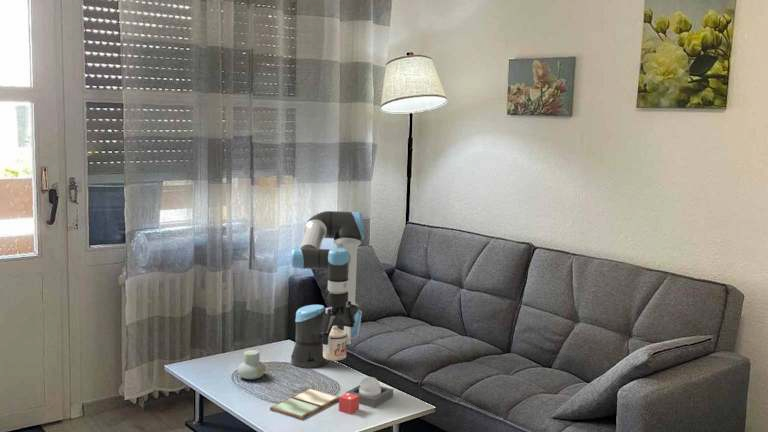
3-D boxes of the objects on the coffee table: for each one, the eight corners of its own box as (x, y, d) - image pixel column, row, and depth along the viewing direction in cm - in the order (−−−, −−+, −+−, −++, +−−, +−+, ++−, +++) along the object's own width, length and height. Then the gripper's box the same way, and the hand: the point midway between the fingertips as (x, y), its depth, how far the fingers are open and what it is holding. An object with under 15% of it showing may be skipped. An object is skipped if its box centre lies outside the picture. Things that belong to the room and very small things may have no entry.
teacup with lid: (336, 362, 267) (337, 331, 265) (317, 357, 272) (317, 326, 270) (356, 353, 277) (356, 323, 275) (337, 349, 282) (337, 319, 280)
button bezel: (365, 389, 276) (365, 382, 276) (392, 397, 269) (393, 389, 269) (346, 400, 266) (346, 392, 265) (374, 408, 259) (374, 399, 259)
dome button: (366, 390, 273) (367, 372, 272) (385, 395, 269) (385, 376, 268) (354, 397, 266) (354, 378, 265) (372, 402, 262) (373, 383, 261)
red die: (347, 406, 260) (347, 392, 259) (358, 409, 258) (359, 395, 257) (338, 410, 256) (339, 396, 255) (350, 414, 253) (350, 399, 253)
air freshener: (253, 383, 280) (253, 357, 278) (234, 380, 283) (234, 354, 281) (268, 374, 290) (268, 349, 289) (249, 371, 293) (249, 346, 291)
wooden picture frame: (309, 390, 274) (309, 388, 273) (340, 399, 266) (340, 396, 266) (269, 410, 255) (269, 406, 255) (301, 419, 248) (301, 416, 248)
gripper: (326, 299, 258) (325, 359, 262) (365, 286, 279) (363, 341, 282) (309, 296, 262) (308, 354, 266) (348, 283, 283) (347, 337, 286)
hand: (337, 348), depth 274 cm, fingers closed on teacup with lid, 12 cm apart
